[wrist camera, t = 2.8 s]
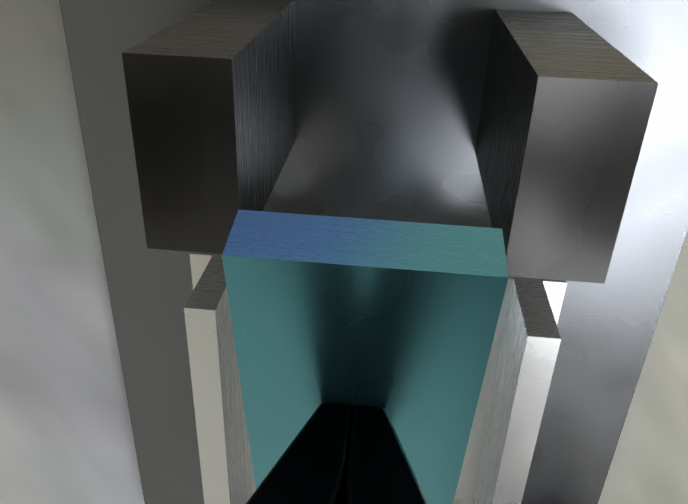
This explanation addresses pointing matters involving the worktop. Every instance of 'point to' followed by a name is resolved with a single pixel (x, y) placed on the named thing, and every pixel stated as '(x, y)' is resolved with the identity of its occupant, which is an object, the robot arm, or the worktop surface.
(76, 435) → the worktop surface
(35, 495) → the worktop surface
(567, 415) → the heat sink base
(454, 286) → the bar
